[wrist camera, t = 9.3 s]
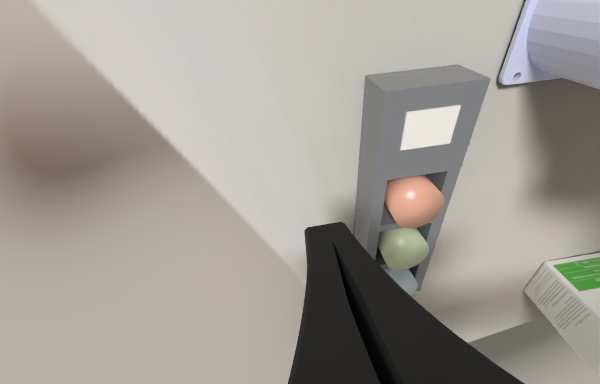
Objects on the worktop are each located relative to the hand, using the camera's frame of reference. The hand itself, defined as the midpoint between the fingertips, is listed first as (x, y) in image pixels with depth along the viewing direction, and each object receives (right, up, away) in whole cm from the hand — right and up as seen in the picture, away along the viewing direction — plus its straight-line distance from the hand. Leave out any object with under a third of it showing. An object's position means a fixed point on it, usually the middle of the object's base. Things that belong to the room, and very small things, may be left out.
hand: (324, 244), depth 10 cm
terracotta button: (+7, +2, +11) cm, 14 cm away
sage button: (+7, -1, +14) cm, 16 cm away
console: (+7, +2, +13) cm, 15 cm away
